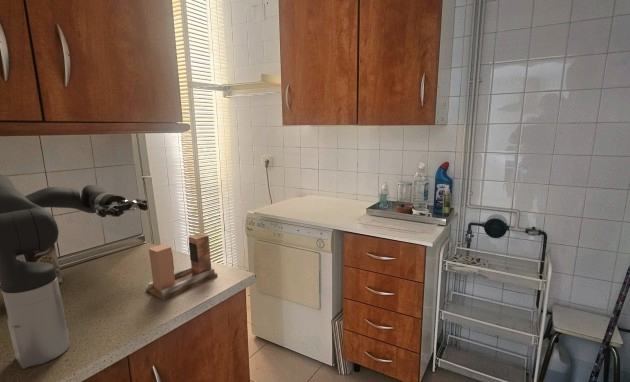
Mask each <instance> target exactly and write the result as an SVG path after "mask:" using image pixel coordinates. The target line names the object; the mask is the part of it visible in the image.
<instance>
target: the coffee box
mask: <svg viewBox="0 0 630 382" xmlns="http://www.w3.org/2000/svg"><path fill="white" fill-rule="evenodd" d="M16 259H17V260H20V261H24V262H46V263H50V264H53V265H54V266H55V268H56V273H57V278H58V283H59V284H61V283H63V278H62V272H61V268H60V263H59V259H58V255H57V249H56V245H55V244H53V245H52V246H50V247H48V248H46V249H43V250H39V251H35V252H31V253H27V254H23V255H19V256H16Z"/></svg>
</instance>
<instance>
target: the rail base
mask: <svg viewBox="0 0 630 382" xmlns="http://www.w3.org/2000/svg"><path fill="white" fill-rule="evenodd" d="M188 247H189V249H188V250H189V258H190V265H191V266H189V267H186V268H184V269H181V270H178V271H176V272H174V277H175V285H173V286H170V287H168V288H166V289H163V290H161V292H160V291H158V290H156V289H154V285H153V281H150V282H148V283H147V285H148V286H147V287H146V288H145V291H146V292H147V293H150V294H151V295H153V296H154V297H156V298H158V299H160V300H161V301H162V302H164V301H167V300H168V299H170V298H172V297H175V296H178V295H179V294H182V293H184V292H186V291H188V290H191V289H192V288H195V287H198V286H199V285H201V284H203V283H206V282H208V281H210V280H212V279H215V278H216V277H218V273H217V272H215V269H214V268H212V262H211V261H212V260H211V250H210V249H211V248H210V237H209V234H205V233H203V232H199V233H195V234H193V235H189V236H188Z"/></svg>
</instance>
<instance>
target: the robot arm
mask: <svg viewBox="0 0 630 382" xmlns="http://www.w3.org/2000/svg"><path fill="white" fill-rule="evenodd" d="M148 207H149V206H148V200H146V199H139V198H136V199H135V200H134V199H133V200H127V199H126V198H125V197H124V196H122V195H120V194H116V193H112V192H107V190H105V189H104V188H102V187H101V186H99V185H96V184H95V185H94V184H89V185H86V186H84V187H83V188H82V190H81V193H80V191H79V190H78V189H76V188H74V187H73V188H72V187H61V186H51V187H50V186H49V187H45V188H42V189H39V190H37V191H34V192H32V193H31V192H30V193H29V194H26V195H24V194H23V193H21V192H20V191H19V190H18V189H17V188H16V187H15V186H14V184H13V181H12V180H11V179H10V178H9V177H7V176H5V175H4V174H1V173H0V288H1V293H2V297H3V301H4V306H5V309H6V314H7V320H6V322H7V327H8V332H9V335H10V340H11V343H12V347H13V352H14V357H15V360H16V361H17V362H18V364H19V366H20V367H21V369H23V370H25V369H27V368H29V367H33V366H38V365H42V364H45V363H48V362H50V361H52V360H54V359H56V358H57V357H59V356H61V355H62V354H64V353H65V352H66V351H67V350H68V349H69V347H70V345H71V341H70V334H69V330H68V325H67V319H66V315H65V310H64V305H63V304H64V303H63V300H62V294H61V289H60V285H59V284H60V283H58V278H57V273H56V268H55V266H54V265H53V264H50V263H46V262H24V261H20V260H17V259H16V256H19V255H23V254H27V253H31V252H35V251H39V250H43V249H46V248H48V247H50V246H52V245H53V244H54V245H55V244H56V242H57V241H58V238H59V226H58V223H57V222H56V219H55V218H54V216H53V215H52V213H50V211H48V209H46V208H54V209H55V208H56V209H57V208H60V209H74V210H77V211H82V212H84V213H87V214H96V215H97V216H99V217H101V218H106V217H107V216H109V217H114V218H115V217H116V218H118V217H121V216H122V215H124V214H125V213H127V212H135V211H137V210H139V211H140V210H141V211H147V210H148V209H149V208H148Z"/></svg>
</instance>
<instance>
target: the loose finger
mask: <svg viewBox="0 0 630 382" xmlns="http://www.w3.org/2000/svg"><path fill="white" fill-rule="evenodd" d="M148 252H149V254H148V255H149V261H150V262H149V263H150V269H151V276H152V277H151V278H152V282H153V285H154V289H156V290H158V291H160V292H161V290H163V289H166V288H168V287H170V286H173V285H175V277H174V273H175V266H174V264H175V263H174V257H173V251H172V247H171V246H169V245H167V244H164V243H163V244H157V245H155V246H153V247H150V248H148Z"/></svg>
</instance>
